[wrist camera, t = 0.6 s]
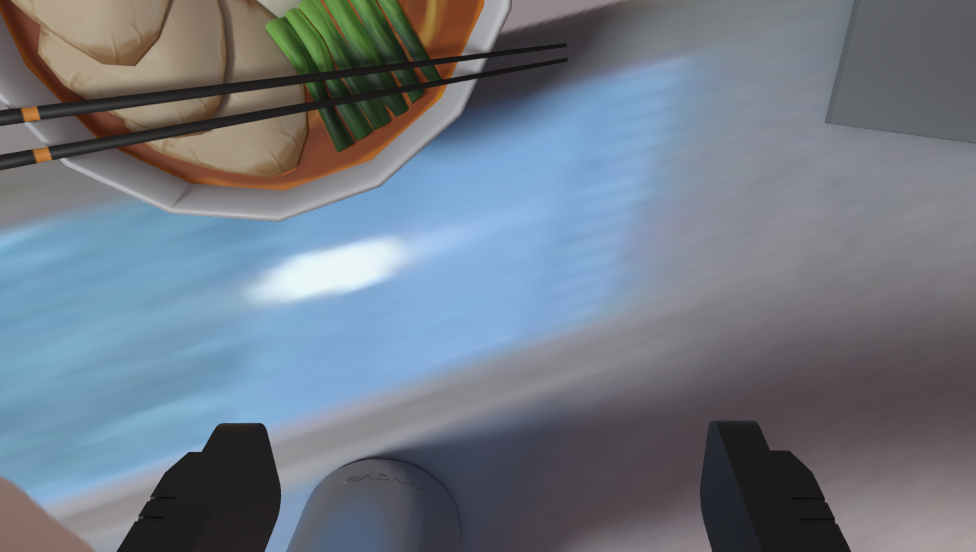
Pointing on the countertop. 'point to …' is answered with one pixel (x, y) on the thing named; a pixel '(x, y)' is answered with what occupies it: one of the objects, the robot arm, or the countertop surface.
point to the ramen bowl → (242, 93)
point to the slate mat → (909, 69)
